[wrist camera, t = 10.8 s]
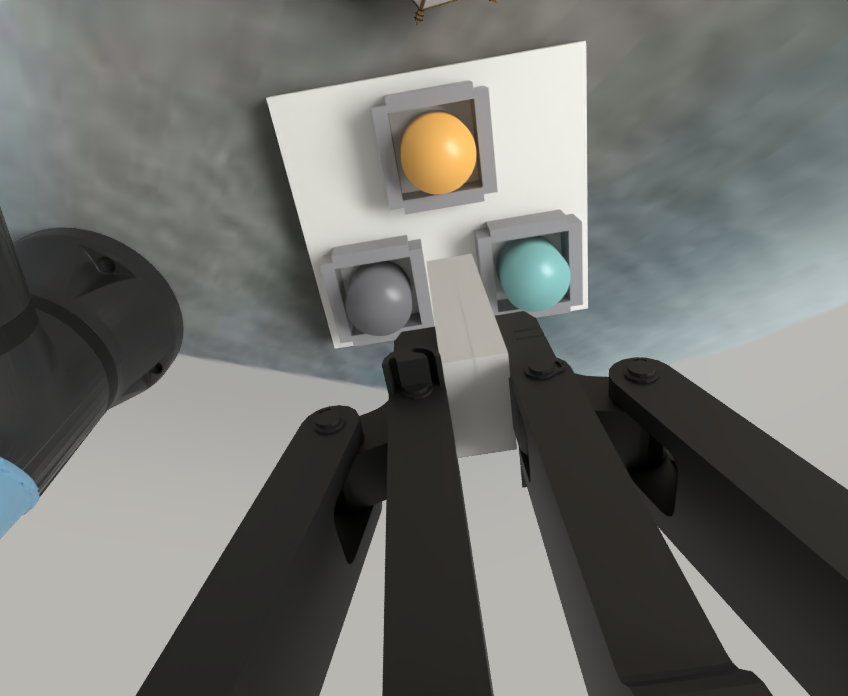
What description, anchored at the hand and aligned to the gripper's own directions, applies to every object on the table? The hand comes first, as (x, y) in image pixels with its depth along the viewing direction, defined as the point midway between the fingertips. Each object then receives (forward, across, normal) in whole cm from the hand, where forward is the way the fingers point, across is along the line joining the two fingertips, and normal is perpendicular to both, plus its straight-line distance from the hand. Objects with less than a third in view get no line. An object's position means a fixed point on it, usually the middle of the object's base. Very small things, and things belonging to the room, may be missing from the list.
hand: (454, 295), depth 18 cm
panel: (+26, +1, -4) cm, 27 cm away
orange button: (+24, +1, +1) cm, 24 cm away
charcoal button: (+24, -5, -9) cm, 26 cm away
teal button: (+24, +7, -9) cm, 26 cm away
